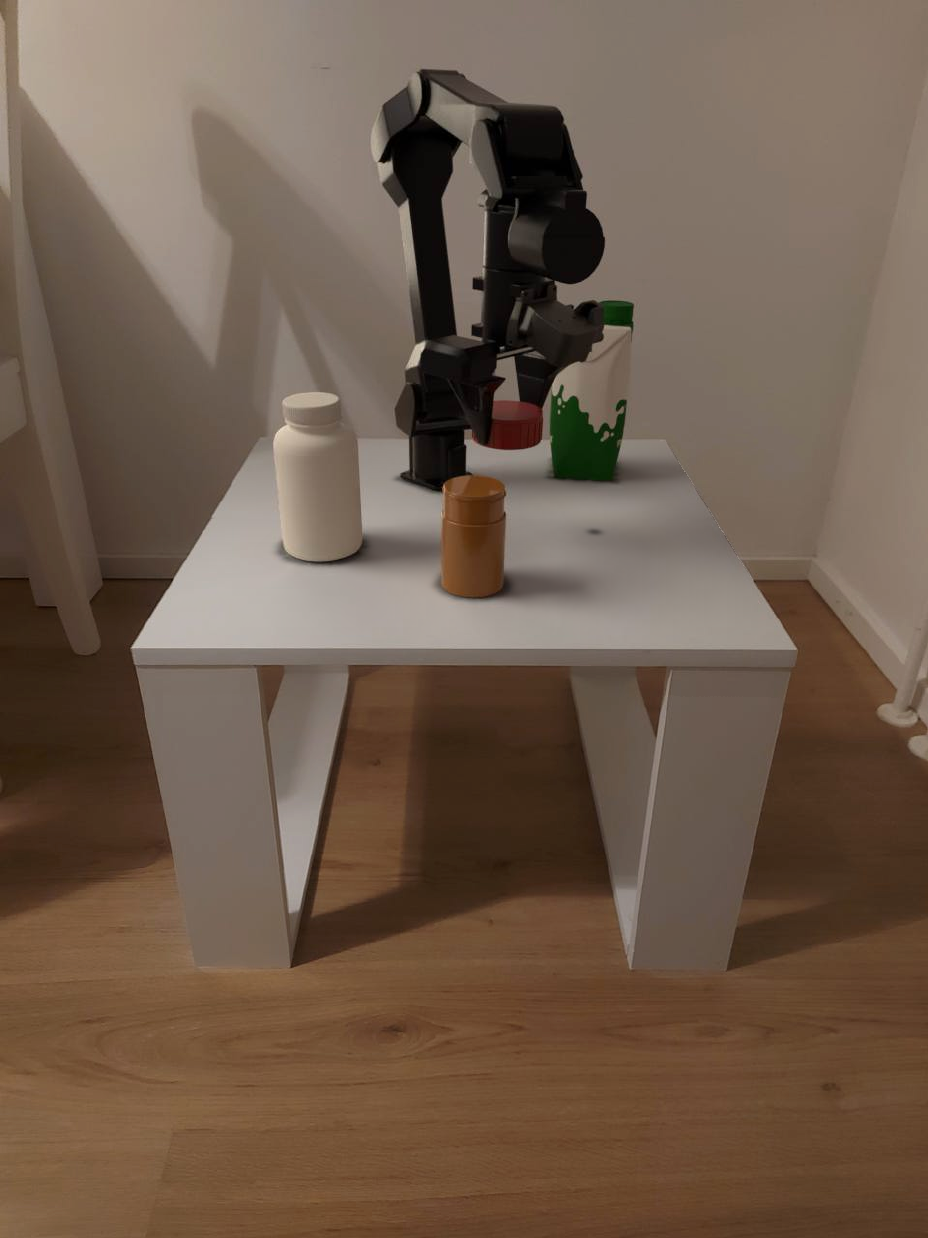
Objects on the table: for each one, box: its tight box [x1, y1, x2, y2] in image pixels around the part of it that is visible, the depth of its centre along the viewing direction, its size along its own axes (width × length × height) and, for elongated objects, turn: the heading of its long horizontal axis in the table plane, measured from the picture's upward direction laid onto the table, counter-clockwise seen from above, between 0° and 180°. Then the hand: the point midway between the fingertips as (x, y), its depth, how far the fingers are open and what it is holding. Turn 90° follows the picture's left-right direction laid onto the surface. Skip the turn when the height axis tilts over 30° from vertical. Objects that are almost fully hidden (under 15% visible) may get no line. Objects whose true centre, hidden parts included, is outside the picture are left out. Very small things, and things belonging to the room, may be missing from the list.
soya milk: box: [549, 299, 635, 482], centre depth 104 cm, size 9×9×20 cm
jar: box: [440, 474, 507, 599], centre depth 79 cm, size 6×6×10 cm
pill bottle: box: [272, 391, 363, 562], centre depth 84 cm, size 8×8×15 cm
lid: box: [471, 399, 544, 451], centre depth 85 cm, size 7×7×3 cm
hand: (506, 435), depth 86 cm, fingers closed on lid, 7 cm apart
